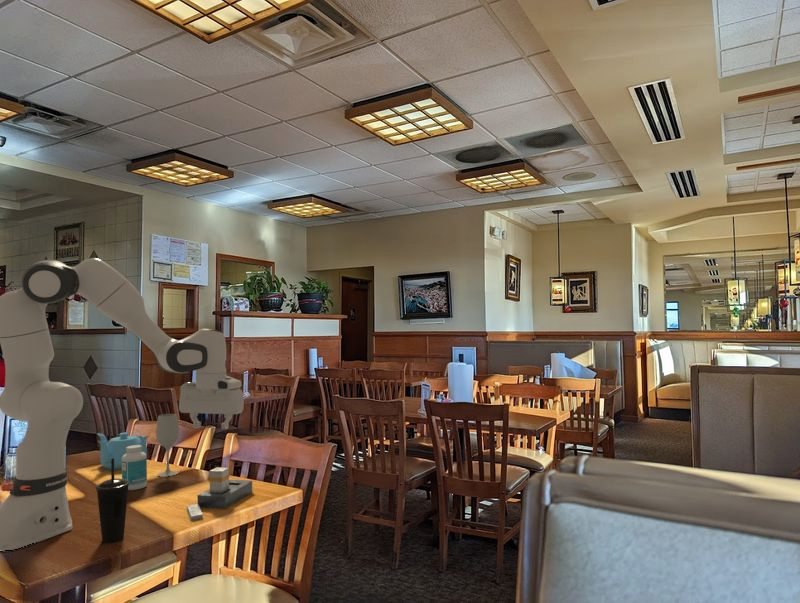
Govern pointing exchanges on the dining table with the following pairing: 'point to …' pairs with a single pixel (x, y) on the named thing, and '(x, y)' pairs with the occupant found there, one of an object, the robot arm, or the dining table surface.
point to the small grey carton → (219, 480)
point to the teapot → (118, 448)
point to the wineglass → (167, 437)
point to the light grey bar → (194, 512)
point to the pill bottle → (134, 467)
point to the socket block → (225, 495)
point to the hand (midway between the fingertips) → (210, 428)
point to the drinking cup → (112, 507)
